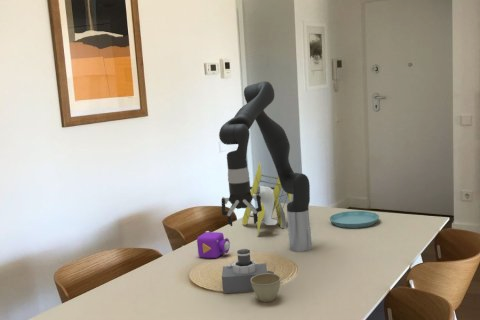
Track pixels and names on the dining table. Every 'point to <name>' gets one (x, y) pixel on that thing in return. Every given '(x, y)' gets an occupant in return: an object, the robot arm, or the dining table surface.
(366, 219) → the saucer
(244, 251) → the lens
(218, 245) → the toy camera
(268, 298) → the flower pot
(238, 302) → the dining table surface
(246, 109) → the robot arm
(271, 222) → the biplane
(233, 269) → the camera body
